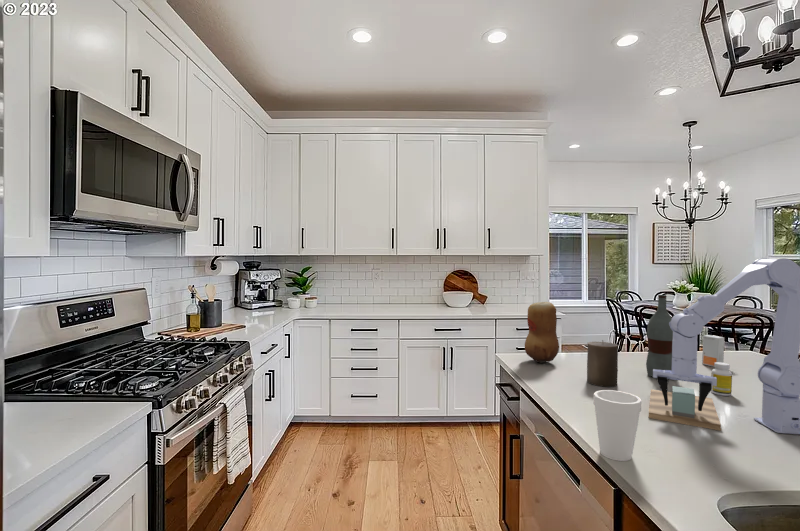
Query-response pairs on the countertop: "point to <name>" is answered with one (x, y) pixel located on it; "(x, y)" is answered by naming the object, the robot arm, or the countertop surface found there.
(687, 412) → the block
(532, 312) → the butternut squash
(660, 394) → the oak board
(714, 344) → the skincare box
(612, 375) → the pillar candle
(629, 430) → the foam cup
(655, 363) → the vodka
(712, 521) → the countertop surface
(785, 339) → the robot arm
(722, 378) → the supplement bottle
